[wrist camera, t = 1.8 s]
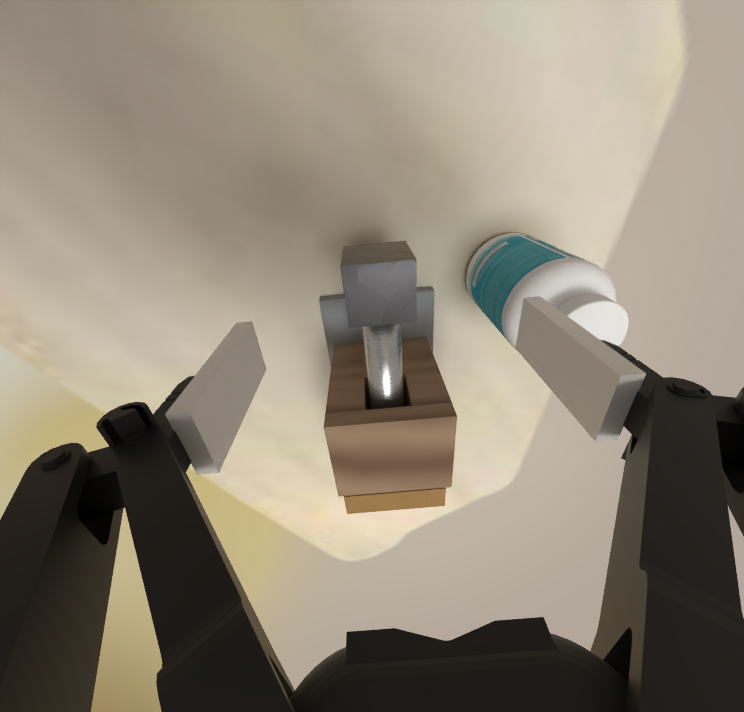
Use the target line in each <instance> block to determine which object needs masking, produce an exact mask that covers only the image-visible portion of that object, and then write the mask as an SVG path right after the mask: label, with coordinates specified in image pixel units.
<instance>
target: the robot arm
mask: <svg viewBox="0 0 744 712" xmlns="http://www.w3.org/2000/svg"><path fill="white" fill-rule="evenodd" d="M515 348H516V349H517V350H518V351H519V353H520V354H521V355H522V356H523V357H524V359H525V360H526V361H527V362H528V363H529V364H530V366H531V367H532V368H533V369H534V370H535V371H536V373H537V374H538V375H539V376H540V377H541V378H542V380H543V381H544V382H545V383H546V384H547V385H548V387H549V388H550V389H551V390H552V391H553V392H554V394H555V395H556V396H557V397H558V398H559V399H560V400H561V402H562V403H563V404H564V405H565V407H566V408H567V409H568V410H569V411H570V412H571V414H572V415H573V416H574V417H575V418H576V419H577V420H578V421H579V422H580V424H581V425H582V426H583V428H584V429H585V430H586V431H587V432H588V433H589V435H590V436H591V437H592V438H593V439H594V440H595V442H596V441H608V440H618V438H619V436H620V433H621V431H622V429H623V426H624V427H626V429H627V430H628V431H629V432H630V433H631V434H632V436H631V438H630V440H629V442H628V444H627V447H626V449H625V451H624V453H623V455H622V457H621V458H622V459H624V460H625V459H626V460H625V467H624V472H623V479H622V485H621V491H620V498H619V503H618V509H617V516H616V522H615V528H614V534H613V540H612V547H611V552H610V559H609V565H608V571H607V577H606V583H605V589H604V596H603V602H602V608H601V615H600V620H599V625H598V630H597V634H596V637H595V639H594V642H593V645H592V648H591V651H588V650H587V649H586V648H584V647H582V646H580V645H578V644H576V643H574V642H572V641H570V640H568V639H565V638H562V637H560V636H557V635H554V634H550V632H549V630H548V627H547V625H546V622H545V620H544V618H543V617H539V618H527V619H526V618H525V619H512V620H499V621H493V622H491V623H489V624H487V625H484V626H483V627H480V628H478V629H475V630H473V631H471V632H469V633H466V634H464V635H462V636H460V637H458V638H455V639H453V640H450V641H443V640H439V639H435V638H431V637H427V636H423V635H419V634H415V633H411V632H407V631H403V630H399V629H395V628H393V629H380V630H368V631H353V632H347V642H346V647H345V648H343V649H341V650H339V651H337V652H335V653H334V654H332V655H330V656H329V657H327V658H326V659H324V660H323V661H322V662H321V663H320V664H318V665H317V666H316V667H315V668H314V669H313V670H312V671H311V672H310V673H309V674H308V675H307V676H306V677H305V678H304V680H303V681H302V682H301V683H300V685H299V686H298V687H297V689H296V690H294V688H293V686H292V685H291V683H290V681H289V679H288V677H287V675H286V673H285V671H284V669H283V667H282V666H281V663H280V662H279V660H278V658H277V656H276V654H275V652H274V650H273V648H272V646H271V644H270V642H269V640H268V638H267V636H266V634H265V632H264V630H263V628H262V626H261V624H260V622H259V620H258V618H257V616H256V614H255V612H254V610H253V608H252V606H251V604H250V602H249V600H248V597H247V595H246V594H245V592H244V589H243V587H242V585H241V583H240V581H239V579H238V577H237V575H236V573H235V571H234V569H233V567H232V565H231V563H230V561H229V559H228V557H227V555H226V553H225V551H224V549H223V547H222V545H221V543H220V541H219V539H218V537H217V535H216V533H215V531H214V528H213V527H212V524H211V522H210V521H209V518H208V516H207V515H206V512H205V510H204V508H203V506H202V504H201V502H200V500H199V498H198V496H197V494H196V492H195V490H194V488H193V486H192V484H191V482H190V480H189V478H188V476H187V474H186V471H187V469H188V467H189V465H190V464H192V466H193V467H194V469H195V471H196V473H197V474H207V473H219V471H220V469H221V467H222V465H223V462H224V460H225V458H226V456H227V454H228V451H229V449H230V447H231V445H232V443H233V441H234V438H235V436H236V434H237V432H238V430H239V428H240V425H241V423H242V421H243V419H244V417H245V414H246V412H247V410H248V408H249V406H250V404H251V401H252V399H253V397H254V395H255V393H256V390H257V388H258V386H259V384H260V382H261V380H262V377H263V375H264V373H265V371H266V367H265V363H264V360H263V356H262V353H261V350H260V346H259V343H258V340H257V336H256V333H255V330H254V326H253V323H252V322H242V323H236V324H235V325H234V327H233V328H232V329H231V331H230V332H229V333H228V334H227V336H226V337H225V338H224V339H223V341H222V342H221V343H220V345H219V346H218V347H217V348H216V350H215V351H214V352H213V354H212V355H211V356H210V357H209V359H208V360H207V361H206V362H205V364H204V365H203V366H202V368H201V369H200V370H199V371H198V373H197V374H196V375H195V376H190V377H188V378H186V379H185V380H184V381H182V382H181V383H179V384H178V385H177V386H176V388H175V389H174V390H173V391H172V392H171V394H170V395H169V396H168V397H167V398H166V400H165V402H163V403H162V404H161V406H160V407H159V408H158V409H157V410H156V412H155V413H154V414H152V412H151V411H150V409H149V407H148V405H146V404H145V403H143V402H134V403H128V404H125V405H122V406H119V407H117V408H115V409H113V410H111V411H110V412H108V413H107V414H105V415H104V416H103V417H102V418H101V419H100V420H99V421H98V422H97V426H96V427H97V429H98V430H99V432H100V433H101V435H102V436H103V437H104V439H105V440H106V442H107V443H108V445H109V447H106V448H103V449H99V450H96V451H92V452H89V453H88V452H87V451H86V450H85V449H84V447H83V446H82V445H80V444H79V443H69V444H65V445H61V446H59V447H56V448H53V449H51V450H49V451H47V452H45V453H43V454H42V455H40V457H38V458H37V459H36V460H35V461H33V462H32V463H31V465H30V466H29V467H28V468H27V470H26V472H25V473H24V475H23V477H22V479H21V481H20V483H19V485H18V487H17V489H16V491H15V493H14V495H13V497H12V499H11V500H10V502H9V505H8V506H7V508H6V510H5V512H4V514H3V516H2V518H1V520H0V712H91V706H92V699H93V693H94V687H95V681H96V674H97V668H98V662H99V656H100V649H101V643H102V637H103V631H104V625H105V619H106V613H107V606H108V599H109V594H110V588H111V581H112V575H113V569H114V563H115V556H116V550H117V544H118V538H119V531H120V525H121V519H122V513H123V508H124V507H125V509H126V513H127V517H128V521H129V525H130V529H131V534H132V538H133V542H134V546H135V550H136V554H137V558H138V562H139V567H140V571H141V574H142V579H143V583H144V586H145V591H146V595H147V599H148V603H149V607H150V611H151V616H152V620H153V624H154V628H155V632H156V636H157V640H158V645H159V648H160V653H161V657H162V668H161V670H160V671H159V672H158V673H157V682H156V683H157V690H158V696H159V701H160V706H161V711H162V712H744V618H743V615H742V611H741V603H740V595H739V588H738V580H737V573H736V565H735V558H734V550H733V543H732V535H731V528H730V521H729V513H728V506H729V508H730V510H731V512H732V514H733V516H734V518H735V520H736V522H737V524H738V526H739V528H740V530H741V532H742V534H743V536H744V387H743V388H742V389H741V391H740V392H739V394H738V396H737V397H736V398H733V397H723V396H713V395H712V394H711V393H710V391H708V390H707V389H706V388H704V387H703V386H700V385H698V384H696V383H694V382H691V381H687V380H685V379H679V378H673V377H669V378H663V377H661V376H660V375H659V374H657V373H656V372H654V371H653V370H652V369H650V368H649V367H647V366H646V365H644V364H643V363H642V362H640V361H639V360H636V358H634V357H633V356H632V355H630V354H628V353H627V352H626V351H624V350H623V349H622V348H620V347H619V346H617V345H615V344H612V343H610V342H607V341H605V340H599V339H598V338H597V337H595V336H594V335H593V334H591V333H590V332H588V331H587V330H586V329H584V328H583V327H582V326H580V325H579V324H577V323H576V322H575V321H573V320H572V319H570V318H569V317H568V316H566V315H565V314H564V313H562V312H561V311H559V310H558V309H557V308H555V307H554V306H553V305H551V304H550V303H548V302H547V301H546V300H544V299H543V298H542V297H540V296H537V297H525V298H524V299H523V305H522V311H521V317H520V322H519V328H518V334H517V340H516V346H515ZM727 504H728V505H727Z"/></svg>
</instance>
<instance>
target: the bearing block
mask: <svg viewBox="0 0 744 712" xmlns="http://www.w3.org/2000/svg"><path fill="white" fill-rule="evenodd" d="M320 306H321V312H322V318H323V323H324V329H325V335H326V340H327V346H328V352H329V357H330V363H331V374H330V382H329V390H328V398H327V406H326V414H325V422H324V431H325V436H326V440H327V445H328V449H329V454H330V459H331V463H332V468H333V473H334V477H335V482H336V486H337V491H338V496H350V495H362V494H374V493H385V492H397V491H409V490H421V489H433V488H445V487H451V486H452V473H453V460H454V447H455V434H456V421H457V415H456V412H455V410H454V407H453V405H452V402H451V400H450V397H449V394H448V392H447V389H446V387H445V384H444V381H443V379H442V376H441V374H440V371H439V369H438V366H437V363H436V361H435V358H434V356H433V318H434V289H433V288H432V287H426V288H417V322H411V323H401V346H402V373H403V400H404V407H395V408H383V409H371V403H370V393H369V384H368V374H367V365H366V356H365V346H364V337H363V328H362V327H355V328H349V326H348V319H347V311H346V303H345V296H344V295H338V296H327V297H320Z"/></svg>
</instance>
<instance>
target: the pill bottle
mask: <svg viewBox="0 0 744 712" xmlns="http://www.w3.org/2000/svg"><path fill="white" fill-rule="evenodd" d="M466 285H467V289H468V292H469V294H470V296H471V298H472V299H473V300H474V302H475V303H476V304H477V305H478V306H479V308H480V309H481V310H482V311H483V312H484V314H485V315H486V316H487V317H488V318H489V319H490V321H491V322H492V323H493V324H494V325H495V326H496V328H497V329H498V330H499V331H500V332H501V333H502V335H503V336H504V337H505V338H506V339H507V340H508V342H509V343H510V344H511V345H512V346H513V347H514V348H515V346H516V340H517V334H518V328H519V322H520V317H521V311H522V305H523V299H524V298H525V297H537V296H540V297H542V298H543V299H544V300H546V301H547V302H548V303H550V304H551V305H553V306H554V307H555V308H557V309H558V310H559V311H561V312H562V313H564V314H565V315H566V316H568V317H569V318H570V319H572V320H573V321H575V322H576V323H577V324H579V325H580V326H582V327H583V328H584V329H586V330H587V331H588V332H590V333H591V334H593V335H594V336H595V337H597V338H598V339H599V340H605V341H607V342H610V343H612V344H615V345H617V346H619V345H620V343H621V342H622V341H623V339H624V337H625V335H626V333H627V329H628V324H629V322H628V316H627V313H626V312H625V310H624V308H623V307H622V306H620V305H619V304H617V303H616V291H615V287H614V284H613V282H612V280H611V278H610V277H609V276H608V274H607V273H606V272H605V271H604V270H603V269H602V268H600V267H599V266H597V265H595V264H593V263H591V262H589V261H587V260H584V259H582V258H580V257H577V256H575V255H572V254H570V253H568V252H565V251H563V250H561V249H558V248H556V247H554V246H552V245H549V244H547V243H545V242H542V241H540V240H538V239H536V238H533V237H531V236H528V235H526V234H521V233H507V234H503V235H499V236H497V237H495V238H493V239H491V240H489V241H488V242H486V243H485V244H484V245H483V246H482V247H481V248H480V249H479V250H478V251H477V252H476V253H475V255H474V256H473V258H472V259H471V261H470V263H469V266H468V269H467V274H466ZM515 349H516V348H515ZM516 350H517V349H516ZM517 351H518V350H517ZM518 352H519V351H518Z"/></svg>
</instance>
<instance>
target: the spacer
mask: <svg viewBox="0 0 744 712" xmlns="http://www.w3.org/2000/svg"><path fill="white" fill-rule="evenodd" d="M445 492H446V488H433V489H421V490H409V491H397V492H385V493H374V494H362V495H350V496H344V500H345V505H346V510H347V514H352V513H364V512H376V511H388V510H399V509H411V508H423V507H435V506H445Z"/></svg>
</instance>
